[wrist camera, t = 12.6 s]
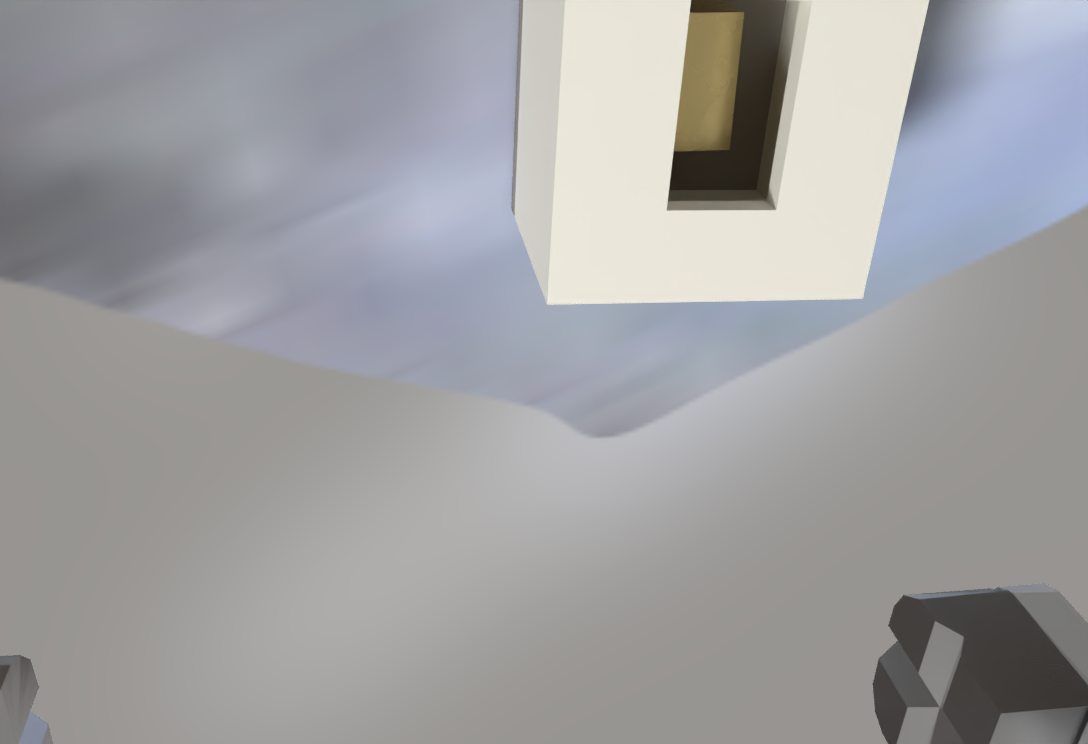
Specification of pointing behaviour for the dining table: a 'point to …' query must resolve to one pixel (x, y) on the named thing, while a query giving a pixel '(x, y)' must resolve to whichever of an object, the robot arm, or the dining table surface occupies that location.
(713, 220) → the money box
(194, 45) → the dining table surface
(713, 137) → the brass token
